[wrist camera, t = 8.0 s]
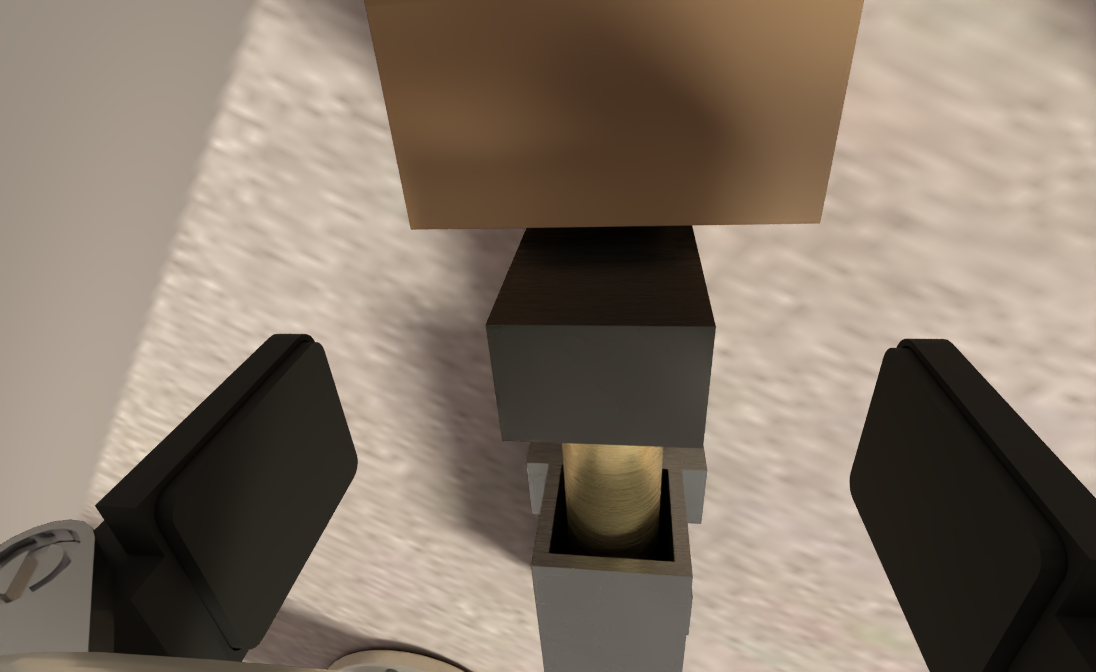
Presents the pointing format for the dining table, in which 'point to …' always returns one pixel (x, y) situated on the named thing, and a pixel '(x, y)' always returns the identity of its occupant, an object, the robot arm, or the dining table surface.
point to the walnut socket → (613, 109)
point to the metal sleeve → (614, 576)
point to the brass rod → (605, 369)
